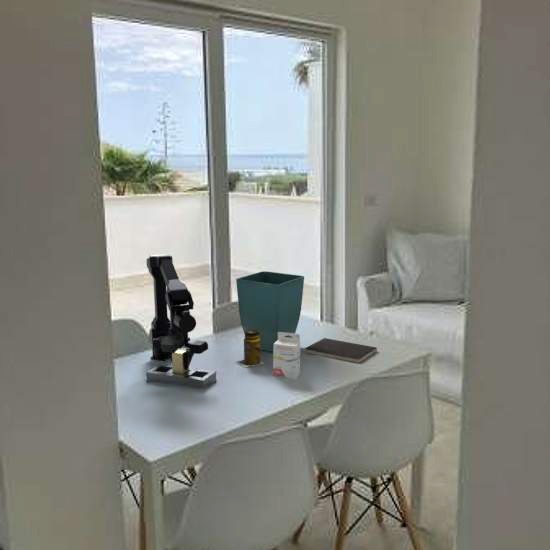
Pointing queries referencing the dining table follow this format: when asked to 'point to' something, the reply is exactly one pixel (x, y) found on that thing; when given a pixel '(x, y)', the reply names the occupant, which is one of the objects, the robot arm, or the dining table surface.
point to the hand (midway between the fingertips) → (180, 368)
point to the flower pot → (270, 304)
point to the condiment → (251, 349)
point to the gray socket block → (181, 376)
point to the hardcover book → (341, 350)
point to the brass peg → (179, 363)
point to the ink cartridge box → (286, 355)
